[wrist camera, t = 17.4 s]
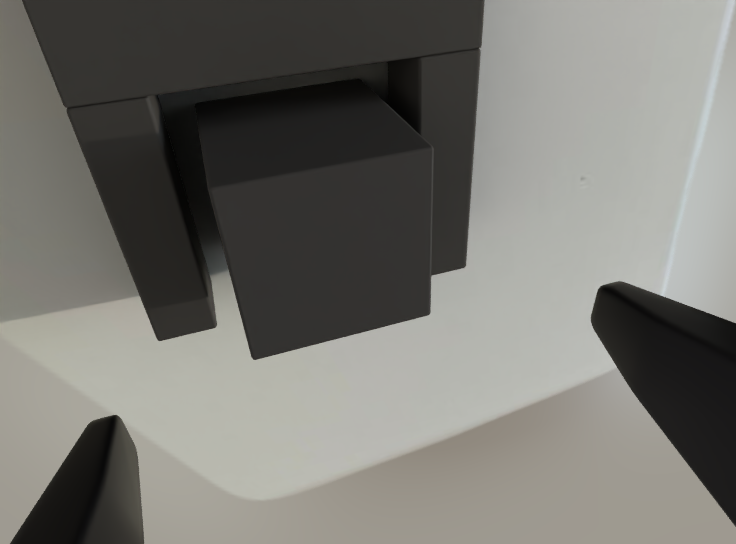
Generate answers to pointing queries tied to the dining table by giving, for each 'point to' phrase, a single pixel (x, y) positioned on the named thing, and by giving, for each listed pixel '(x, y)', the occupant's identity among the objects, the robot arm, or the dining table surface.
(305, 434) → the dining table surface
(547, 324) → the dining table surface
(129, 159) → the base pad
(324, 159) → the pad block
